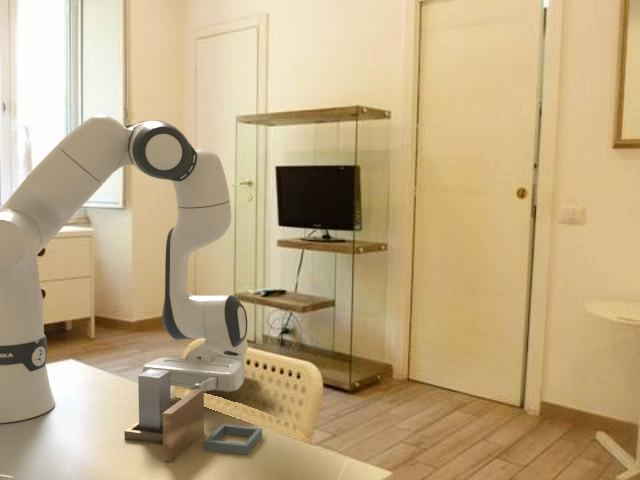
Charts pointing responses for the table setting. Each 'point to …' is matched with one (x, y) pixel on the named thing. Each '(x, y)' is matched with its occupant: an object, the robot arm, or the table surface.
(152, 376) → the block
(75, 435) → the table surface
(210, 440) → the keeper socket
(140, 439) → the key socket
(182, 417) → the board
